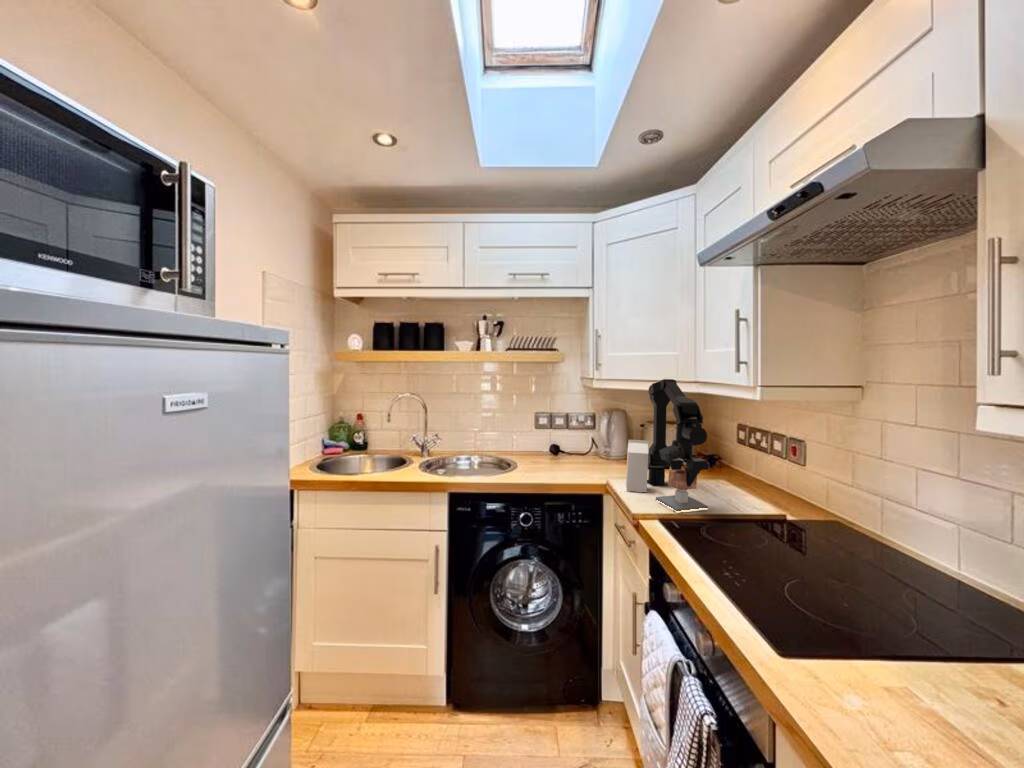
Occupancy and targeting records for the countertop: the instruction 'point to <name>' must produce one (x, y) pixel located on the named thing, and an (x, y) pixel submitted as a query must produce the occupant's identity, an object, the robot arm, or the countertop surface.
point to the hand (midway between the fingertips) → (682, 483)
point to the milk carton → (637, 466)
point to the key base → (680, 505)
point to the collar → (680, 479)
